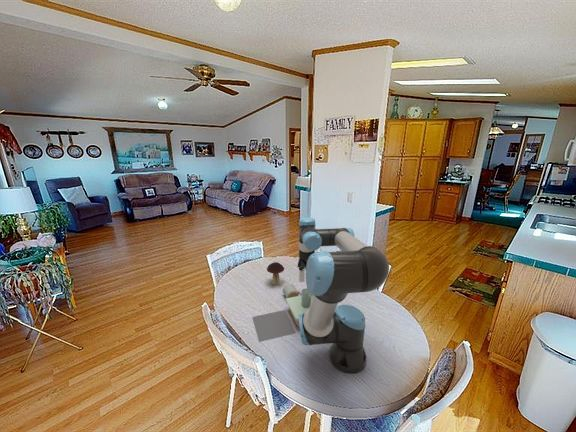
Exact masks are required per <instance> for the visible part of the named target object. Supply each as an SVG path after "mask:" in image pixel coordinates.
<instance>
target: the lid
mask: <svg viewBox="0 0 576 432" xmlns="http://www.w3.org/2000/svg"><path fill="white" fill-rule="evenodd" d="M301 293H302V295H301V296H300V295H299V296H296V297H291V298H286V297H285V302H286V304H287V305H288V308H290V310H291V312H292V314H293V316H294V318H295V320H296V321H299V314H302V313H305V312H306V311H307V310H308V309H309V308H310V304H311V299H312V296H311V297H309V291H308V289H307V288H303V289H301Z"/></svg>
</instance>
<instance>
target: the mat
mask: <svg viewBox="0 0 576 432" xmlns="http://www.w3.org/2000/svg"><path fill="white" fill-rule="evenodd" d="M251 318H252V321H253V322H252V323H253V324H254V329H255V332H256V333H255V334H256V335H257V336H256V337H257V339H258V343H261V342H264V341H269V340H273V339H277V338H281V337H286V336H291V335H293V334H297V332H296V329H295V328H294V325H293V323H292V321H291V319H290V317H289V315H288V313H287V311H286V309H283V310H279V311H273V312H269V313H264V314H260V315H256V316H255V315H254V316H252V317H251Z"/></svg>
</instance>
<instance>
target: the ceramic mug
mask: <svg viewBox="0 0 576 432" xmlns="http://www.w3.org/2000/svg"><path fill="white" fill-rule="evenodd" d="M282 293H283V294H284V296H285V299H286V298H291V297H296V296H301V295H302V292H300V291H299V290H297V288H296V286H295V285H294V284H293V283H287V284H285V285H284V286H283V288H282Z"/></svg>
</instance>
